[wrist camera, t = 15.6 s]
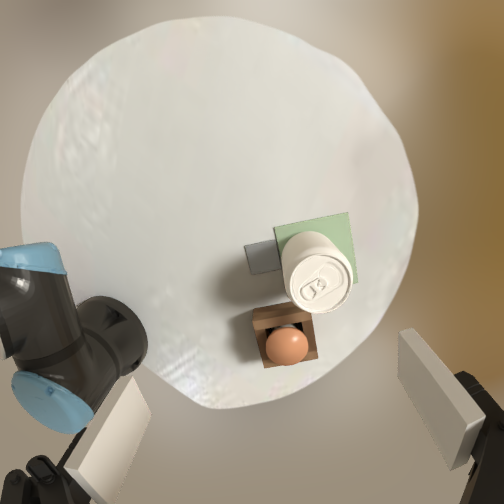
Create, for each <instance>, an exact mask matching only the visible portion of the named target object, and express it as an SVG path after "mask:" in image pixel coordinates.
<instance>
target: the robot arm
mask: <svg viewBox="0 0 504 504" xmlns="http://www.w3.org/2000/svg"><path fill="white" fill-rule="evenodd" d="M398 334H399V335H398V379H399V380H400V382H401V383H402V385H403V387H404V389H405V390H406V392H407V394H408V395H409V397H410V399H411V400H412V402H413V404H414V406H415V407H416V409H417V411H418V413H419V414H420V416H421V418H422V420H423V421H424V423H425V425H426V427H427V429H428V431H429V432H430V434H431V436H432V438H433V440H434V441H435V443H436V445H437V447H438V449H439V451H440V452H441V454H442V456H443V458H444V460H445V462H446V464H447V466H448V468H449V470H450V471H451V470H453V469H456V468H458V467H460V466H462V465H464V464H466V463H467V462H468V460H469V458H470V455H472V456H473V458H474V460H475V462H474V464H473V466H472V468H471V470H470V472H469V474H468V475H470V476H469V479H468V482H467V485H466V488H465V490H464V493H463V496H462V498H461V501H460V504H504V411H503V410H502V409H501V408H500V406H499V405H498V404H497V403H496V402H495V401H494V399H493V398H492V397H491V396H490V395H489V393H488V392H487V391H486V390H484V388H483V387H482V385H480V384H479V382H478V381H477V380H476V379H475V377H474V376H473V375H471V374H469V373H467V372H465V371H462V372H459V373H457V374H455V375H453V374H452V373H451V372H450V370H449V369H448V368H447V367H446V366H445V364H444V363H443V362H442V361H441V360H440V358H439V357H438V356H437V355H436V354H435V353H434V351H433V350H432V349H431V348H430V347H429V346H428V344H427V343H426V342H425V341H424V340H423V339H422V338H421V337H420V335H419V334H418V333H417V332H416V331H415V330H414V329H413V328H410V329H407V330H403V331H399V333H398ZM147 348H148V341H147V335H146V332H145V329H144V327H143V325H142V323H141V321H140V320H139V318H138V317H137V316H136V315H135V313H134V312H133V311H132V310H131V309H130V308H128V307H127V306H126V305H125V304H123V303H121V302H120V301H118V300H116V299H113V298H110V297H106V296H96V297H92V298H89V299H88V300H86V301H85V302H84V303H82V304H81V305H80V306H79V307H78V308H77V309H76V307H75V304H74V300H73V297H72V293H71V290H70V286H69V283H68V279H67V272H66V271H65V269H64V266H63V263H62V259H61V256H60V252H59V250H58V248H57V247H56V246H55V245H54V244H53V243H50V242H40V243H33V244H26V245H20V246H14V247H7V248H2V249H0V359H1V360H5V359H7V358H9V357H10V356H12V357H13V359H14V361H15V364H16V366H17V368H18V371H17V372H15V373H14V375H13V378H12V390H13V392H14V395H15V397H16V398H17V400H18V401H19V403H20V404H21V405H22V407H23V408H24V409H25V410H26V411H27V412H28V413H29V414H30V415H31V416H33V418H35V419H36V420H37V421H39V422H40V423H42V424H43V425H45V426H46V427H48V428H50V429H52V430H54V431H57V432H60V433H64V434H75V433H77V434H76V436H75V438H74V439H73V441H72V443H71V444H70V445H69V449H67V450H66V452H65V453H64V455H63V457H62V458H61V460H60V461H59V463H58V465H57V466H55V465H54V464H53V463H52V462H51V460H50V459H49V458H48V457H46V456H44V455H39V456H35V457H33V458H32V459H31V460H30V461H28V463H27V465H26V470H27V472H28V473H29V474H30V475H31V476H32V477H28V476H27V475H26V474H25V473H24V472H23V471H22V470H20V469H16V470H12V471H11V472H9V473H8V474H7V475H6V477H5V480H4V485H3V490H2V495H1V501H0V504H90V503H89V502H90V500H91V498H92V499H93V500H94V501H95V502H96V503H97V504H115V501H116V499H117V497H118V494H119V492H120V489H121V487H122V484H123V482H124V480H125V477H126V475H127V472H128V470H129V467H130V465H131V463H132V460H133V458H134V456H135V453H136V451H137V449H138V446H139V444H140V441H141V439H142V437H143V435H144V432H145V430H146V428H147V425H148V423H149V420H150V418H151V416H152V414H151V412H150V410H149V408H148V406H147V404H146V402H145V400H144V398H143V396H142V394H141V392H140V390H139V388H138V386H137V384H136V382H135V379H134V377H133V376H125V375H127V374H129V373H130V372H132V371H134V370H135V369H136V368H137V367H138V366H139V365H140V364H141V362H142V361H143V359H144V358H145V356H146V353H147ZM117 380H118V381H117ZM116 381H117V382H116ZM115 382H116V384H115ZM114 384H115V386H114V387H113V385H114ZM112 387H113V389H112V390H111V388H112ZM110 390H111V392H110V393H109V391H110ZM108 393H109V395H108ZM107 395H108V396H107ZM106 396H107V398H106V399H105V397H106ZM104 399H105V401H104ZM103 401H104V403H103V404H102V402H103ZM101 404H102V406H101ZM100 406H101V407H100ZM99 407H100V409H99ZM98 409H99V410H98ZM97 410H98V412H97ZM96 412H97V413H96ZM95 413H96V415H95ZM94 415H95V417H94ZM93 417H94V418H93ZM92 419H93V420H92ZM90 420H92V421H91V423H90V424H89V426H88V428H86V427H85V426H86V425H87V423H88V422H89V421H90Z"/></svg>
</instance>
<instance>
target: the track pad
mask: <svg viewBox="0 0 504 504" xmlns="http://www.w3.org/2000/svg"><path fill="white" fill-rule="evenodd" d="M245 249H246V253H247V257H248V261H249V265H250V270H251V274H252V275H253V274H258V273H263V272H268V271H273V270H278V269H281V264H280V260H279V255H278V250H277V246H276V241H275V240H270V241H265V242H260V243H255V244H251V245H246V246H245Z"/></svg>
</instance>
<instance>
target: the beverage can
mask: <svg viewBox="0 0 504 504" xmlns="http://www.w3.org/2000/svg"><path fill="white" fill-rule="evenodd" d="M281 262H282V269H283V277H284V285H285V290H286V293H287V295H288V297H289V298H290V300H291V301H292V302H293V303H294V304H295V305H296V306H297V307H299V308H300V309H302V310H304V311H307V312H310V313H314V314H323V313H328V312H331V311H333V310H335V309H337V308H338V307H339V306H341V305H342V304H343V303H344V302H345V300H346V299H347V297H348V296H349V293H350V291H351V288H352V283H353V272H352V268H351V265H350V263H349V261H348V260H347V258H346V257H345V256H344V255H343V254H342V253H341V252H340V251H339V249H338V248H337V247H336V246H335V245H334V244H333V243H332V242H331V241H330V240H329V239H328V238H327V237H326V236H325V235H323V234H321V233H318V232H315V231H305V232H301V233H298V234H296V235H295V236H293V237H292V238H291V239H290V240H289V241H288V242H287V243H286V245H285V246H284V249H283V251H282V257H281Z"/></svg>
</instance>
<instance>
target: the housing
mask: <svg viewBox="0 0 504 504" xmlns="http://www.w3.org/2000/svg"><path fill="white" fill-rule="evenodd" d="M298 322H302V327H303V333H304V334H305V336H306V338H307V341H308V352H307V354H306V356H305V357H304V358H303V359H302V360H301V361H300V362H303V361H308V360H313V359H318V353H317V347H316V341H315V334H314V328H313V322H312V316H311V313H310V312H307V311H304V310H302V309H300V308H299V307H297V306H296V305H295V304H294V303H293V302H292V301H291V302H286V303H281V304H276V305H271V306H266V307H260V308H255V309H254V311H253V319H252V323H253V327H254V330H255V334H256V338H257V342H258V346H259V350H260V354H261V358H262V361H263V365H264V368H270V367H276V366H281V365H279V364H276V363H274V362H273V361H272V360H271V359H270V358H269V357H268V355H267V353H266V341H267V338H268V337H269V335H270V334H269V330H268V328H272V327H277V326H282V325H288V324H293V323H298Z"/></svg>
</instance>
